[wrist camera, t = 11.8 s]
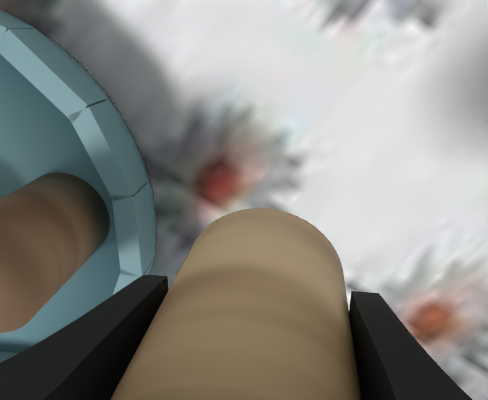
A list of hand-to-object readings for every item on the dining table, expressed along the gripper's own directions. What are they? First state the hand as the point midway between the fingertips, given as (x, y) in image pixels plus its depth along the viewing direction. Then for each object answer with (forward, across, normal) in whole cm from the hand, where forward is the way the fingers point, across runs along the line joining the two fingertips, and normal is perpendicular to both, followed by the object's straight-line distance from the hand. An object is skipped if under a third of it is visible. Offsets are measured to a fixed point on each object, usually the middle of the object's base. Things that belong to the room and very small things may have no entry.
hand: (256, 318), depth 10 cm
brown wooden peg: (+9, +10, +2) cm, 14 cm away
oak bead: (+2, 0, 0) cm, 2 cm away
